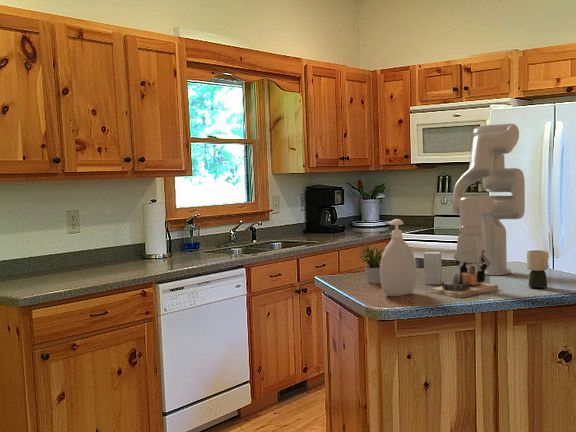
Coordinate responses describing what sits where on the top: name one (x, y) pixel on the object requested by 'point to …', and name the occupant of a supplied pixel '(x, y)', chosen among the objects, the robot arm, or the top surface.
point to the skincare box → (432, 268)
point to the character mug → (537, 267)
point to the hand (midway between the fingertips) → (472, 279)
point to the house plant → (372, 264)
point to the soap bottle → (397, 265)
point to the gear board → (463, 287)
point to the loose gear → (470, 278)
